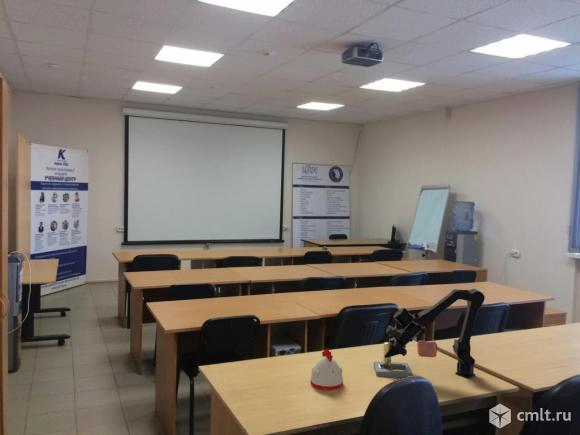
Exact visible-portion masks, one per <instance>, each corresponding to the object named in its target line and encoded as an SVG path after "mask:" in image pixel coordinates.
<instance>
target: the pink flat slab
mask: <svg viewBox="0 0 580 435" xmlns="http://www.w3.org/2000/svg"><path fill="white" fill-rule="evenodd" d="M417 354H418V356H419V357H425V358H436V357H437V342H436V341H427V340H421V339H419V340H418V341H417Z"/></svg>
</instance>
